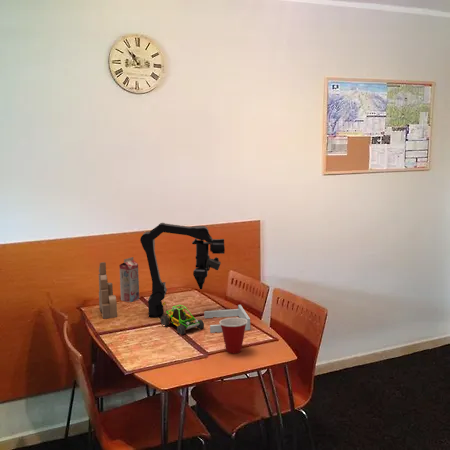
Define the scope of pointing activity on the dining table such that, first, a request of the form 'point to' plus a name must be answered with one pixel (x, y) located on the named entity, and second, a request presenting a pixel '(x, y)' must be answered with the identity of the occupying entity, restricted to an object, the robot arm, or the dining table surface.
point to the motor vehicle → (181, 319)
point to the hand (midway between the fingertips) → (202, 286)
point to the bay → (227, 313)
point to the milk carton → (129, 280)
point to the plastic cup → (233, 333)
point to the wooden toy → (106, 295)
